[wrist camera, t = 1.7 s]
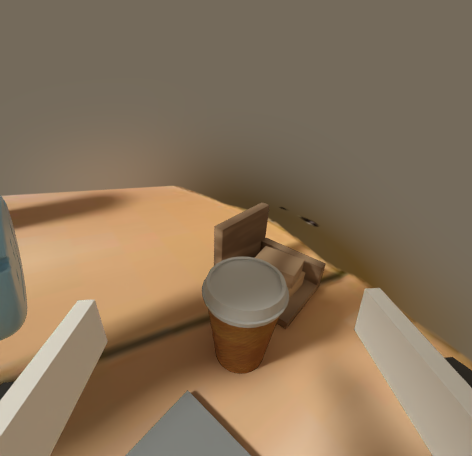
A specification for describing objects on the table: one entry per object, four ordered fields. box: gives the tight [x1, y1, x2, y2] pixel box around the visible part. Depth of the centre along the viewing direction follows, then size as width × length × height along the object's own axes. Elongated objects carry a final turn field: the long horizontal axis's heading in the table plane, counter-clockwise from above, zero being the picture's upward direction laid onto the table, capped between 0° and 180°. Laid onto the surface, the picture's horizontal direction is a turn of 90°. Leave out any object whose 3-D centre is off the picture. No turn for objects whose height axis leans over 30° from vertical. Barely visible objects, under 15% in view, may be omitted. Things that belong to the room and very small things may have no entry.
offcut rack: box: [214, 203, 325, 329], centre depth 40 cm, size 14×13×12 cm
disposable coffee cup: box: [202, 257, 289, 373], centre depth 30 cm, size 10×10×12 cm
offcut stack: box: [255, 246, 305, 299], centre depth 41 cm, size 8×6×5 cm
